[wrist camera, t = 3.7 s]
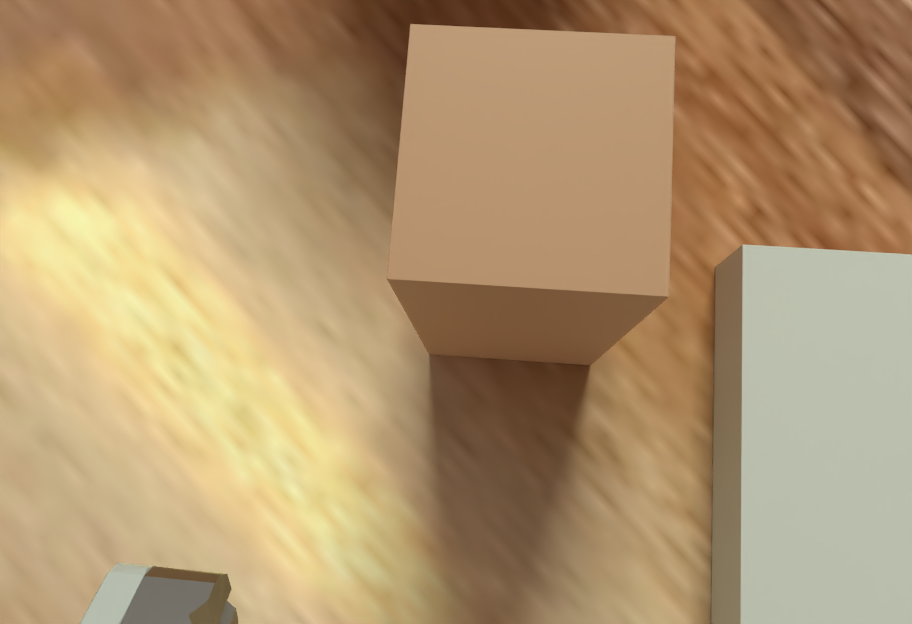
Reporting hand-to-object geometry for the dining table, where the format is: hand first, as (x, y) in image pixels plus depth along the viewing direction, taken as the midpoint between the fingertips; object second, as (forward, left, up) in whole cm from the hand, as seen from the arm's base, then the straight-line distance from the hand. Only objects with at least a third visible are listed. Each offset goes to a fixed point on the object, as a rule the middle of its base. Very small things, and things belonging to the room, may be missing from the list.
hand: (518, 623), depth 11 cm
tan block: (+2, +7, -12) cm, 14 cm away
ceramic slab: (+12, -1, -12) cm, 17 cm away
